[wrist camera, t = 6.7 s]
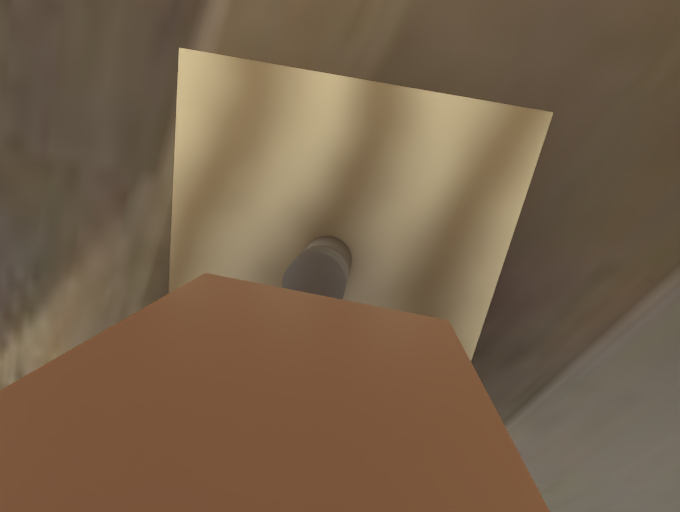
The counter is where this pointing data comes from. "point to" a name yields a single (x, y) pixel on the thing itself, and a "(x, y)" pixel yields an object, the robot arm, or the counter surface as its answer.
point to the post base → (347, 187)
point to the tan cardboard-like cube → (260, 413)
